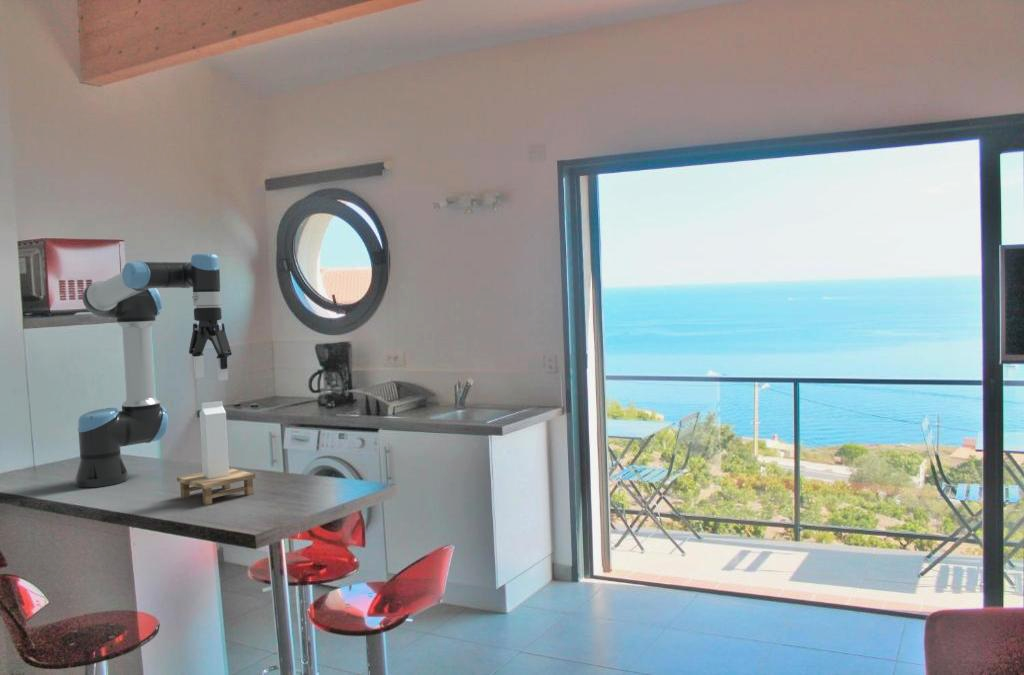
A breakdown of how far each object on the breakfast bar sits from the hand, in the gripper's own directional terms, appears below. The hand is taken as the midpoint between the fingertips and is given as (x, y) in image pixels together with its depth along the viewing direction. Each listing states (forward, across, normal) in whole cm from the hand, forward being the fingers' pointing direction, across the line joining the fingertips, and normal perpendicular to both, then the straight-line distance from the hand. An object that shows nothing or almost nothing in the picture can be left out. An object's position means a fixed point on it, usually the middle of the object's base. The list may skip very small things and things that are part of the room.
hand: (211, 379), depth 233 cm
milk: (+29, 0, 0) cm, 29 cm away
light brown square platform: (+35, 0, 0) cm, 35 cm away
